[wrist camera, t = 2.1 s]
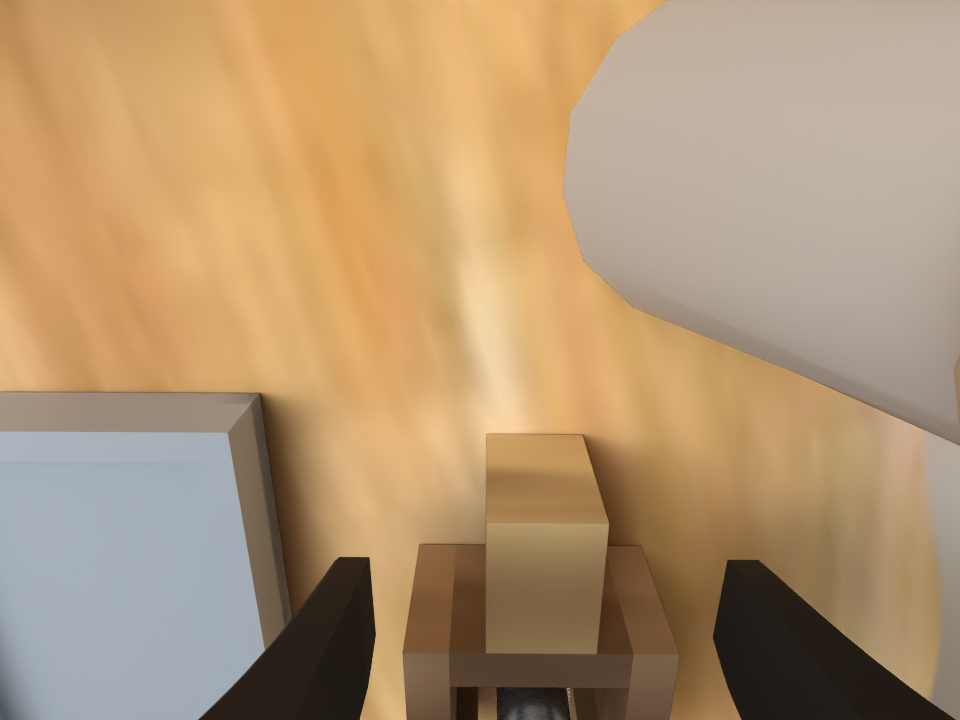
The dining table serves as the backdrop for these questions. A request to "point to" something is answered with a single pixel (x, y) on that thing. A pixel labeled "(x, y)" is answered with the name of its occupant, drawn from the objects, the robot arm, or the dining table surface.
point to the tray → (134, 553)
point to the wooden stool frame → (539, 598)
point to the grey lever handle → (532, 703)
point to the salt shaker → (786, 188)
